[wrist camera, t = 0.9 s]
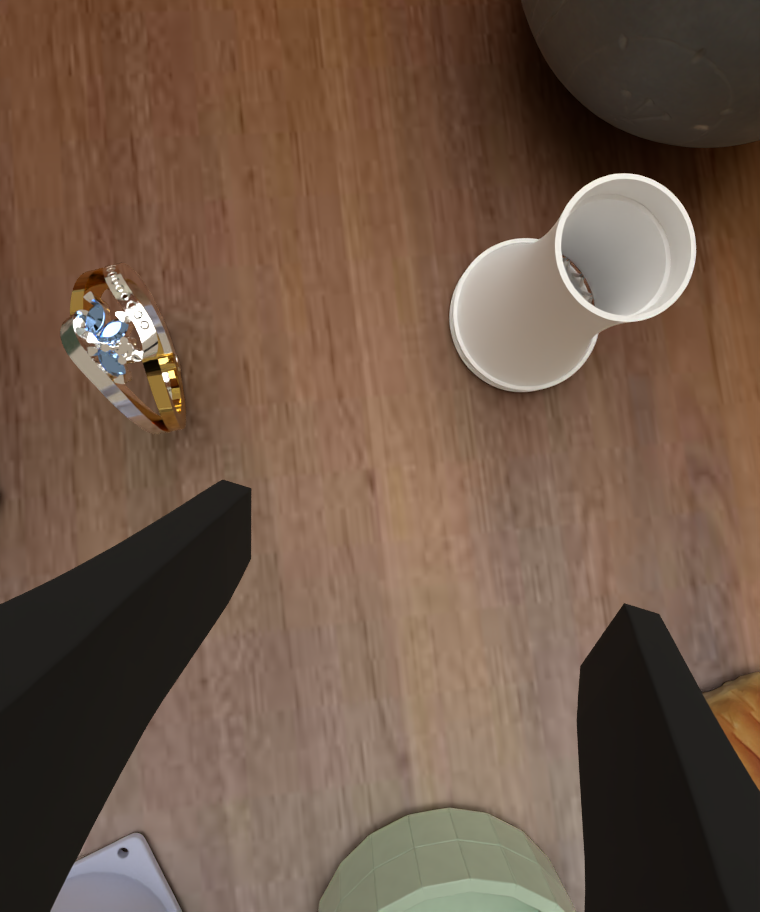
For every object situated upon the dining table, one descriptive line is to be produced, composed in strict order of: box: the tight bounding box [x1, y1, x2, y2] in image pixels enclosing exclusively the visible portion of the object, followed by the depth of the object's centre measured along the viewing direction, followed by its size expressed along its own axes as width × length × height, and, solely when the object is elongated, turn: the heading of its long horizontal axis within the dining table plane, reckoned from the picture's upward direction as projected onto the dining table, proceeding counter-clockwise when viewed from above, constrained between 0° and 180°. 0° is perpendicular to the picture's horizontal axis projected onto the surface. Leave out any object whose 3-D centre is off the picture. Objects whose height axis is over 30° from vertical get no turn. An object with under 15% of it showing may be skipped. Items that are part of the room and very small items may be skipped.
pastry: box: [702, 672, 760, 791], centre depth 27 cm, size 9×7×4 cm
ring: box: [60, 263, 186, 434], centre depth 22 cm, size 7×3×8 cm, turn 12°
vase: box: [449, 173, 696, 392], centre depth 22 cm, size 8×8×10 cm
